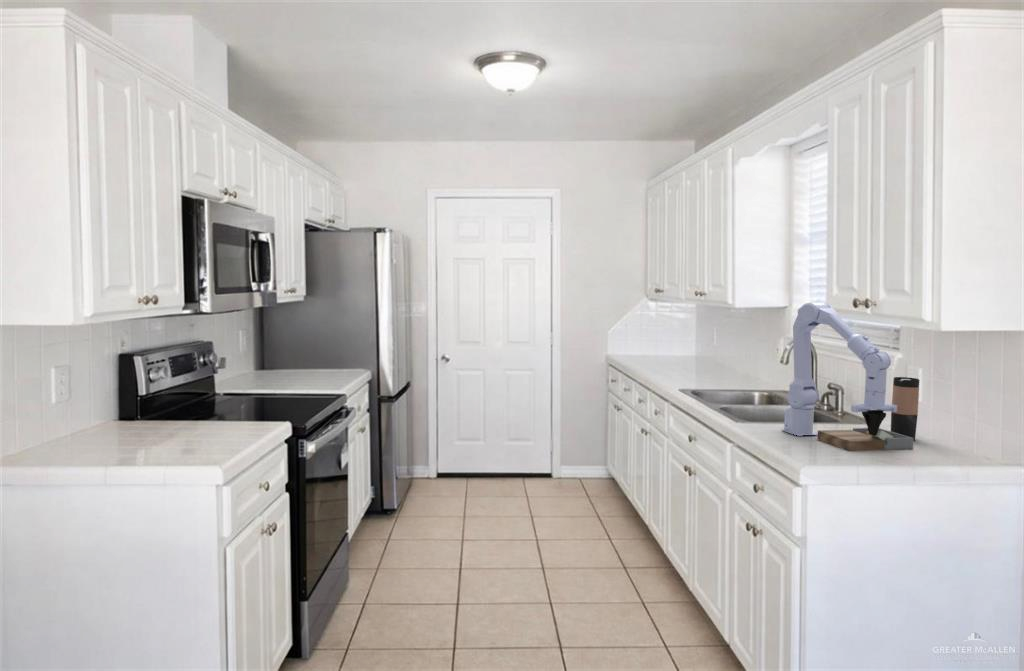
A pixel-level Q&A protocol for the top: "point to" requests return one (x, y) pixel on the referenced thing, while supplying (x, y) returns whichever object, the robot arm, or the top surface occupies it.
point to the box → (893, 440)
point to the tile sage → (882, 435)
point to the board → (851, 440)
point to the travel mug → (905, 406)
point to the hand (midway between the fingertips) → (872, 434)
